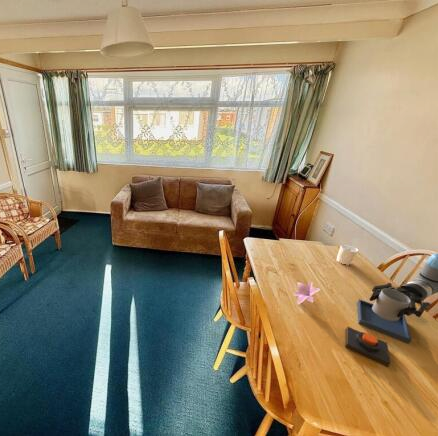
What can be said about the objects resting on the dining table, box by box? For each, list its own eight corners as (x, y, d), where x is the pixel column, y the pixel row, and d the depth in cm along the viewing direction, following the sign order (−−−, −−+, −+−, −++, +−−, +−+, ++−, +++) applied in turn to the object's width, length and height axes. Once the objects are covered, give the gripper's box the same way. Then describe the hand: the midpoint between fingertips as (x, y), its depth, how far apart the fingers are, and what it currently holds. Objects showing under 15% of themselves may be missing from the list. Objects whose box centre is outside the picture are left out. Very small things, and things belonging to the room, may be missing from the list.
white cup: (343, 258, 142) (349, 244, 138) (355, 265, 135) (361, 251, 131) (331, 258, 142) (337, 244, 137) (342, 266, 134) (348, 252, 130)
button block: (384, 346, 88) (389, 339, 87) (387, 367, 81) (393, 359, 79) (345, 330, 95) (348, 323, 93) (345, 347, 88) (349, 340, 86)
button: (375, 340, 87) (377, 336, 86) (376, 347, 84) (378, 344, 83) (361, 334, 89) (363, 331, 88) (362, 341, 86) (363, 338, 86)
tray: (402, 319, 100) (404, 315, 99) (408, 344, 89) (411, 339, 88) (357, 302, 109) (358, 299, 108) (358, 323, 98) (360, 319, 97)
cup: (368, 309, 99) (377, 292, 94) (376, 303, 102) (386, 285, 98) (393, 324, 92) (405, 306, 88) (402, 316, 95) (414, 298, 91)
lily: (296, 289, 118) (291, 277, 115) (324, 292, 110) (320, 278, 106) (294, 309, 111) (289, 296, 107) (324, 313, 103) (319, 300, 99)
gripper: (445, 315, 93) (415, 333, 86) (381, 282, 111) (352, 295, 103) (455, 301, 90) (425, 319, 82) (388, 270, 108) (358, 282, 100)
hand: (384, 306), depth 93 cm, fingers closed on cup, 8 cm apart
